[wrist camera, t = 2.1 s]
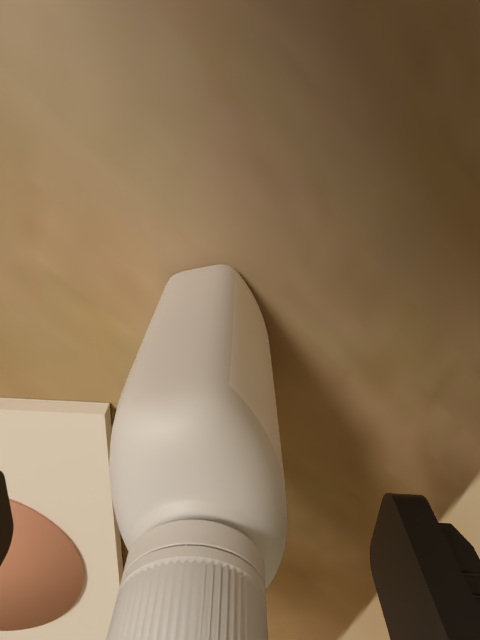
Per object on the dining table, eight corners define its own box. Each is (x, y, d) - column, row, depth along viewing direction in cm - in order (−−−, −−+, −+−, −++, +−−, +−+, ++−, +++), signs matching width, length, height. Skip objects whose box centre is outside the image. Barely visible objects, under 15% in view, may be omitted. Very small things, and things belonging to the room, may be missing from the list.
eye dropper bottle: (306, 283, 15) (475, 759, 4) (253, 415, 17) (271, 940, 6) (177, 245, 14) (-21, 675, 4) (140, 386, 17) (-47, 907, 6)
